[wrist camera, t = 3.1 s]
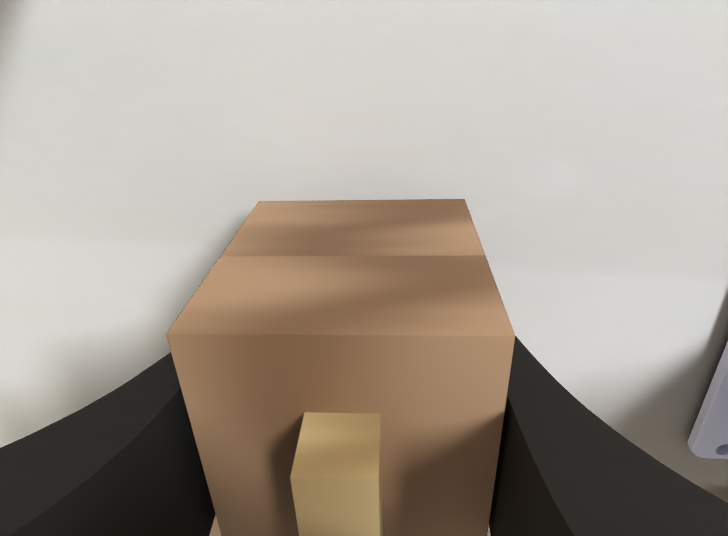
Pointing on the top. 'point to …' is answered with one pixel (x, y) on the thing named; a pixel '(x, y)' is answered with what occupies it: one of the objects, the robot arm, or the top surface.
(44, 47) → the top surface
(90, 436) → the robot arm
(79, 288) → the top surface
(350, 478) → the cabinet block
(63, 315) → the top surface
